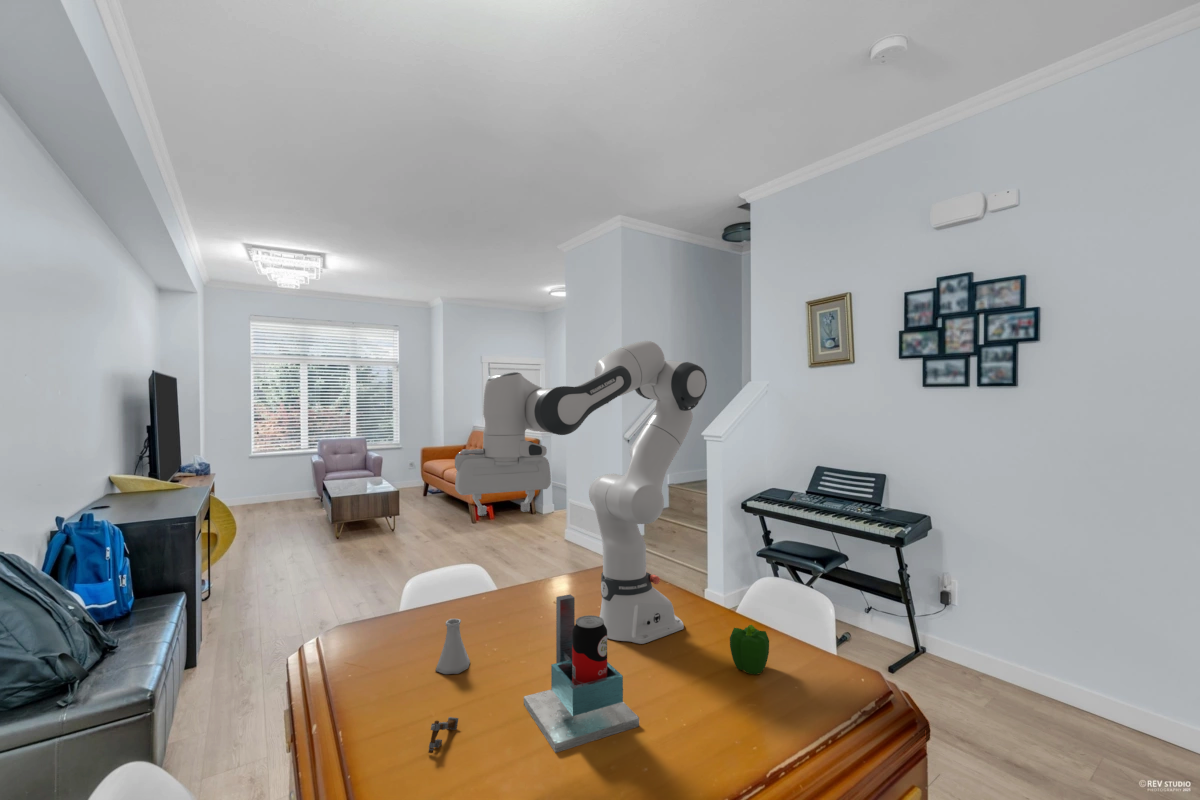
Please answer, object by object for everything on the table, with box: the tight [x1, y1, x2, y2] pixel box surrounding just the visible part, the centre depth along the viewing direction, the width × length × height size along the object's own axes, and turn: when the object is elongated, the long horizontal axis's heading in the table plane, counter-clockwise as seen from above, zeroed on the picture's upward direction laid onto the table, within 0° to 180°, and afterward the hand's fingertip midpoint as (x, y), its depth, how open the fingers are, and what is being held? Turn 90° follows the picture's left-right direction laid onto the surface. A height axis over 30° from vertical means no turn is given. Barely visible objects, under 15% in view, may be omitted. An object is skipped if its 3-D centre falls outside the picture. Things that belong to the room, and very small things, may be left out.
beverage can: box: [572, 615, 608, 686], centre depth 96 cm, size 6×6×12 cm
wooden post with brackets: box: [427, 716, 459, 754], centre depth 90 cm, size 2×8×4 cm, turn 169°
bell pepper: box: [729, 624, 770, 675], centre depth 115 cm, size 8×8×10 cm
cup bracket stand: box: [523, 593, 640, 754], centre depth 98 cm, size 16×16×20 cm
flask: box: [435, 618, 471, 675], centre depth 116 cm, size 7×7×10 cm
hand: (504, 513), depth 113 cm, fingers open, 8 cm apart
